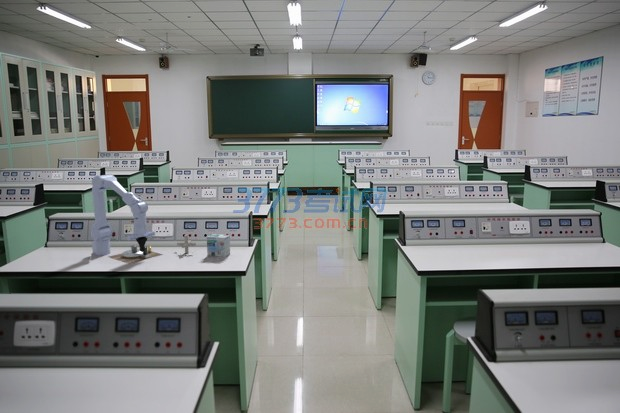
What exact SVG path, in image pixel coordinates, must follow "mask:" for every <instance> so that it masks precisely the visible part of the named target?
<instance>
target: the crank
mask: <svg viewBox="0 0 620 413" xmlns="http://www.w3.org/2000/svg"><path fill="white" fill-rule="evenodd" d="M147 250H148V246H146V245H145V246H144V252H141V251H140V248H137V252H135V253H132V251H131V249H128V250H125V251H123V252H121V253H122V257H124V258H138V257H142V258H148V257H149V254H148V253H147Z"/></svg>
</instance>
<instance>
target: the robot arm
mask: <svg viewBox="0 0 620 413" xmlns="http://www.w3.org/2000/svg"><path fill="white" fill-rule="evenodd" d="M91 186H92V188H91V192H92V200H93V201H92V202H93V203H92V204H93V214H94V223H93V224H92V225H91V226H90V227H91V229H90V237H91V239H92V240H93V241H92V242H91V246H92V248H91V249H92V253H93V254H95V255H96V256H107V255H110V254H111V242H110V239H111V236H112V235H113V229H112V226H111V223H110V222H109V221H107V212H106V211H107V210H106V201H105V191H107V190H108V189H111V190H112V191H114V192H115V193H116V194H118V195H119V196H120V197H121V201H123V202H124V203H125V204H126V205H127V206H128V207H129V208H130V211H131V213H132V217H133V220H134V221H133V223H134V224H133V225H134V234H130V235H128V236H126V240H127V241H132V240H136V242H137V244H138V246H139V249H140V251H141V252H144V246H146V243H147V241H148V237H151V236H156V232H155V231H154V230H153V231H152V230H151V231H148V230H147V229H148V228H147V212H148V210H149V206H148V204H147V202H146V201H144V200H140V199H139V198H138V197H137V196H136V195H135V194H134V193H133V192H131V191H130V192H129V191H127V190H126V189H125V188H124V187H123V186H122V185H121V184H120V182H118V178H117V177H116V176H115V175H114V174H112V173H111V174H110V173H108V174H102V175H94V177H93V178H92V179H91ZM93 254H90V255H91V256H92V255H93Z"/></svg>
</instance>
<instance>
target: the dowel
mask: <svg viewBox="0 0 620 413" xmlns="http://www.w3.org/2000/svg"><path fill="white" fill-rule="evenodd" d="M147 250H148V253H151V251H152V246H147Z"/></svg>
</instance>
